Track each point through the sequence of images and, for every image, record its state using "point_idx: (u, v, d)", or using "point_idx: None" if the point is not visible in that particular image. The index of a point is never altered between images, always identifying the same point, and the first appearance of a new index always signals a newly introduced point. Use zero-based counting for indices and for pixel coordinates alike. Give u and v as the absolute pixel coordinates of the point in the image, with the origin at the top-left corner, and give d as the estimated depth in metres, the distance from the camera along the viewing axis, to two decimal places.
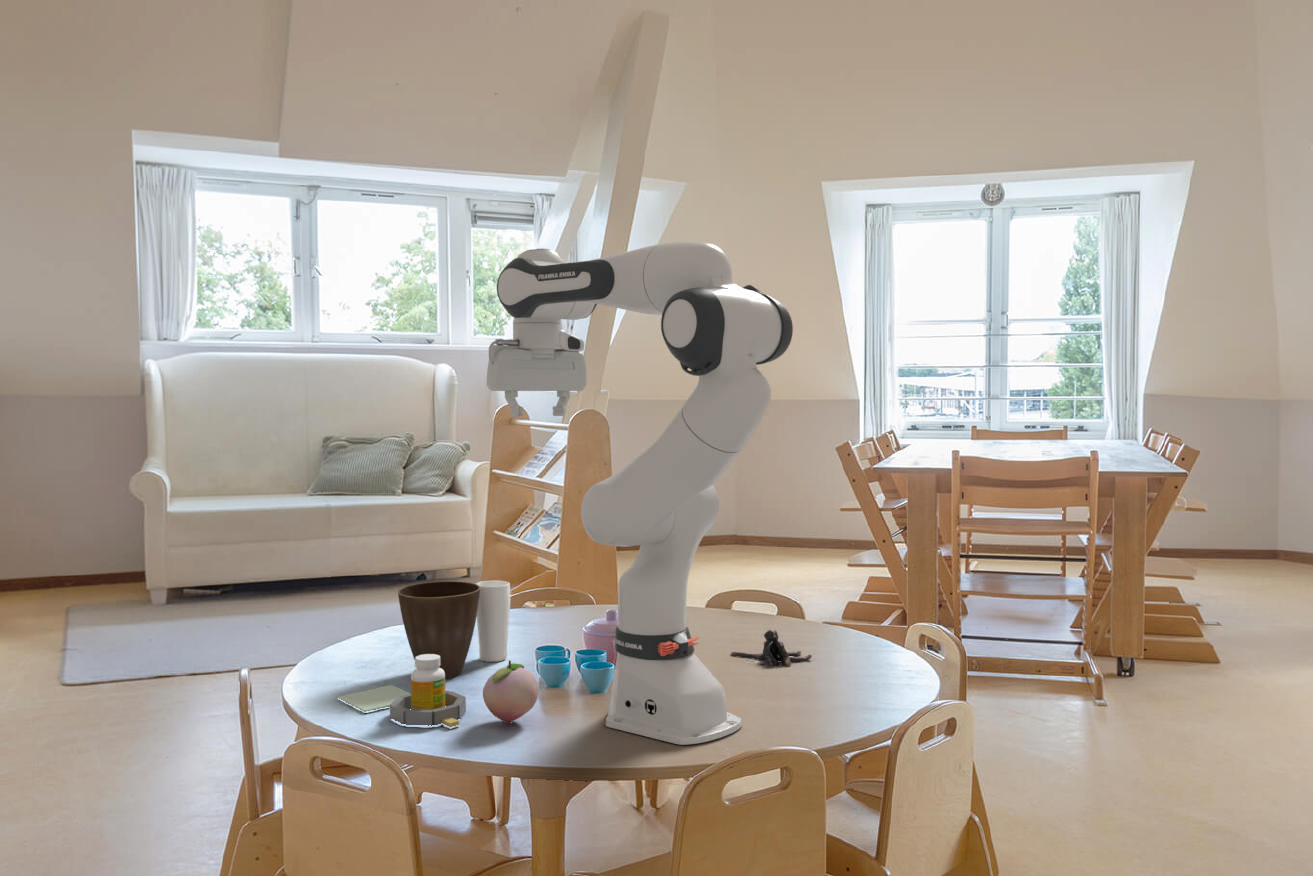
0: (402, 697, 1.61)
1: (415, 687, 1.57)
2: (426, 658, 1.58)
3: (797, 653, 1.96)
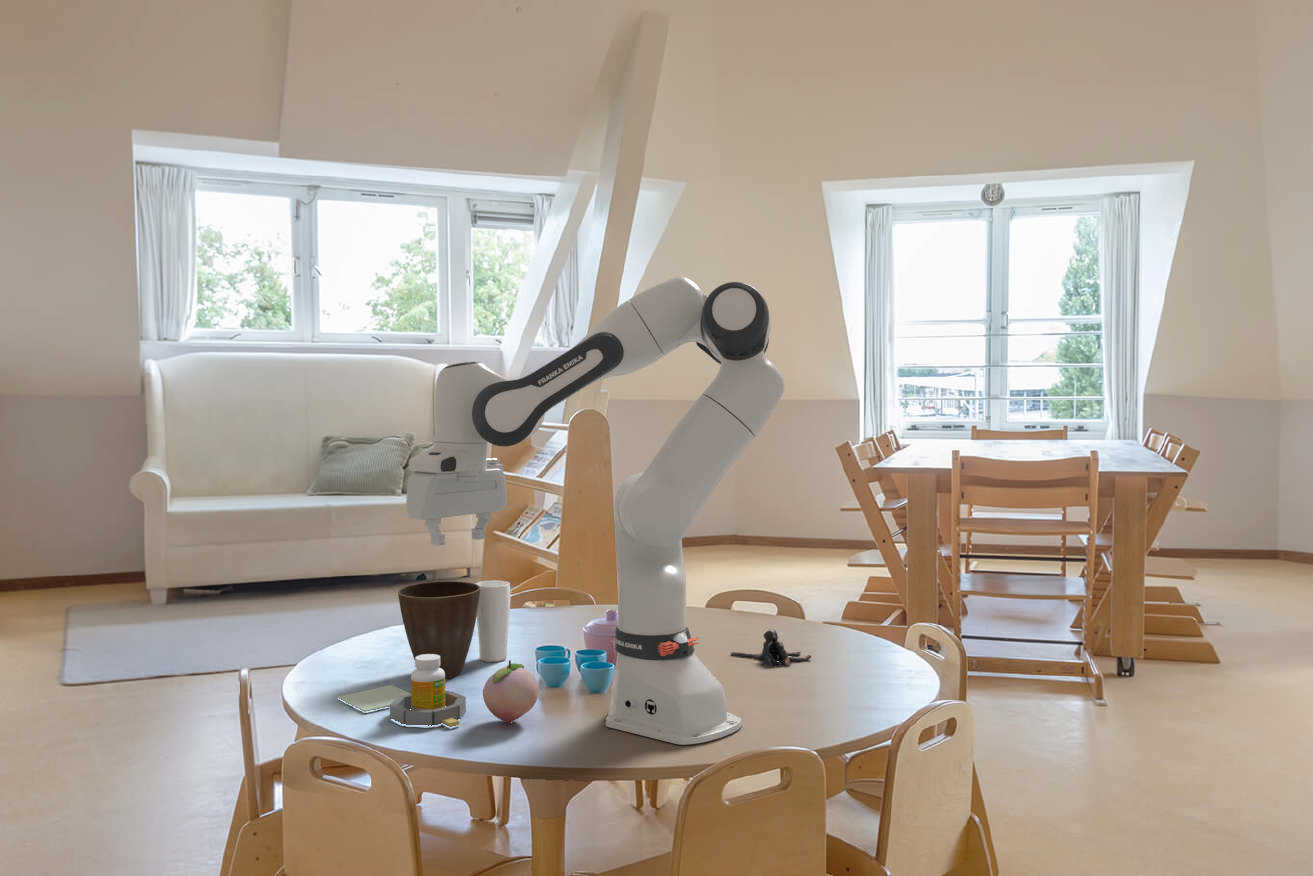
0: (402, 697, 1.61)
1: (415, 687, 1.57)
2: (426, 658, 1.58)
3: (797, 653, 1.96)
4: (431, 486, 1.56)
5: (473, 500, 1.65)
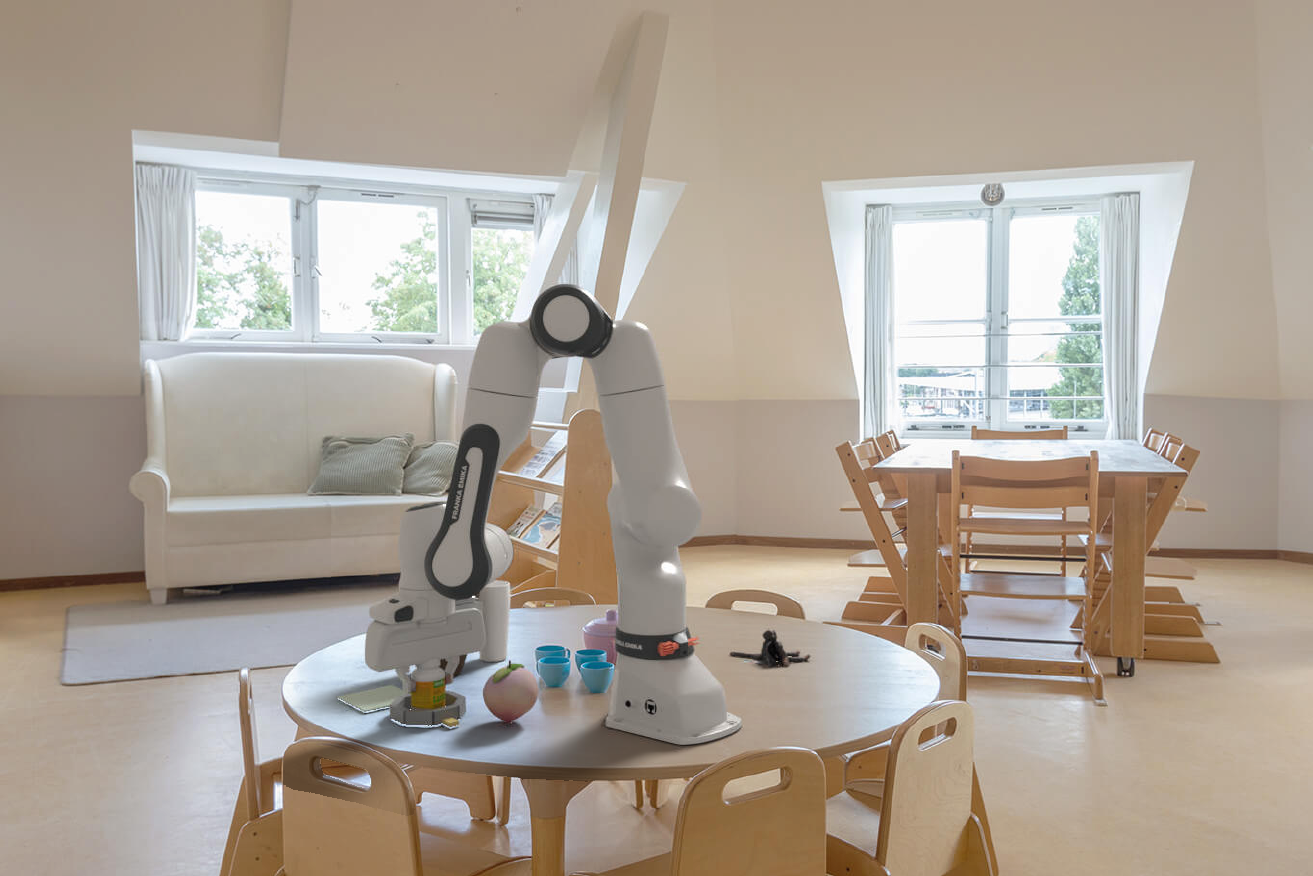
0: (402, 697, 1.61)
1: None
2: None
3: (796, 653, 1.96)
4: (385, 638, 1.51)
5: (442, 645, 1.59)
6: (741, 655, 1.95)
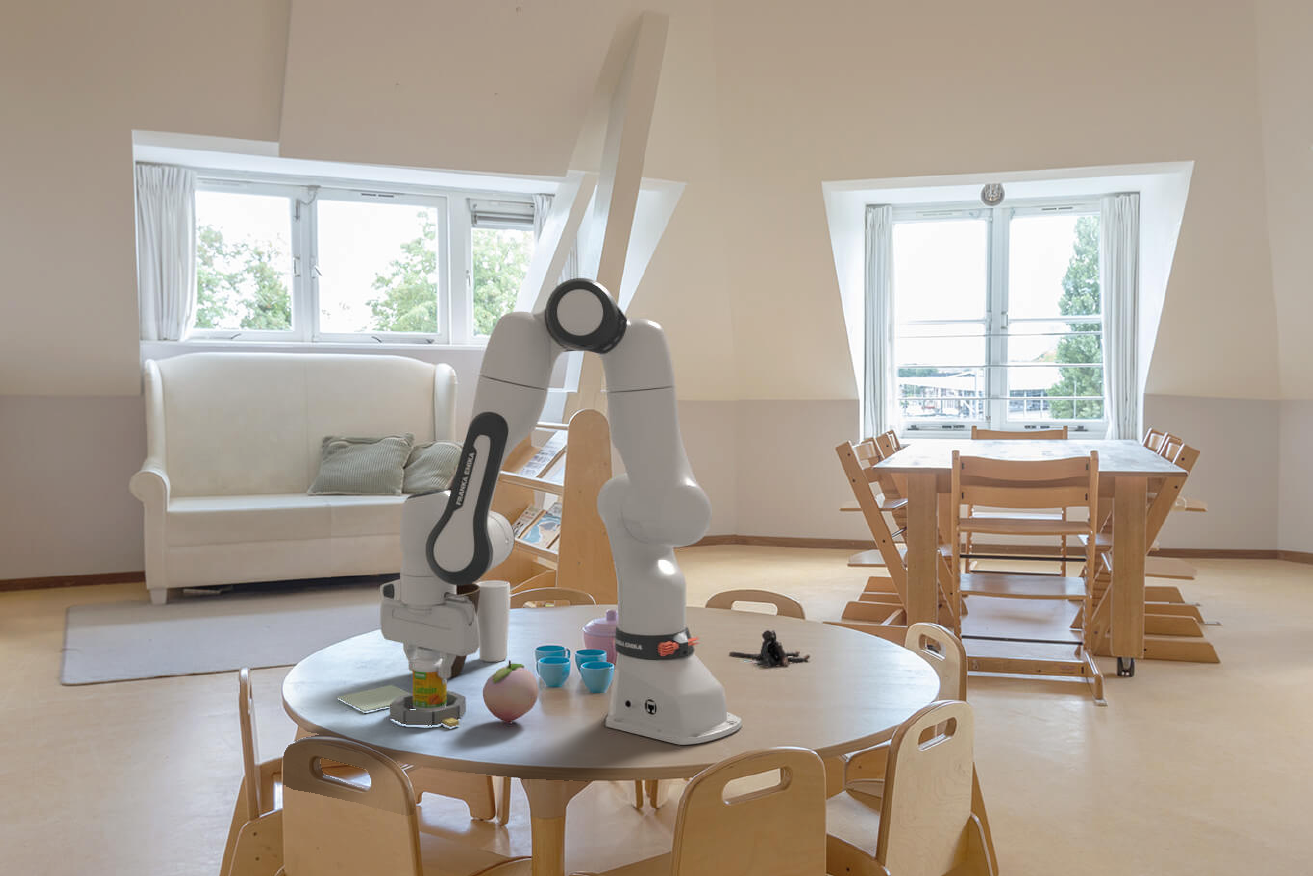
0: (402, 697, 1.61)
1: None
2: None
3: (795, 653, 1.96)
4: (382, 609, 1.63)
5: (426, 635, 1.58)
6: (740, 655, 1.95)
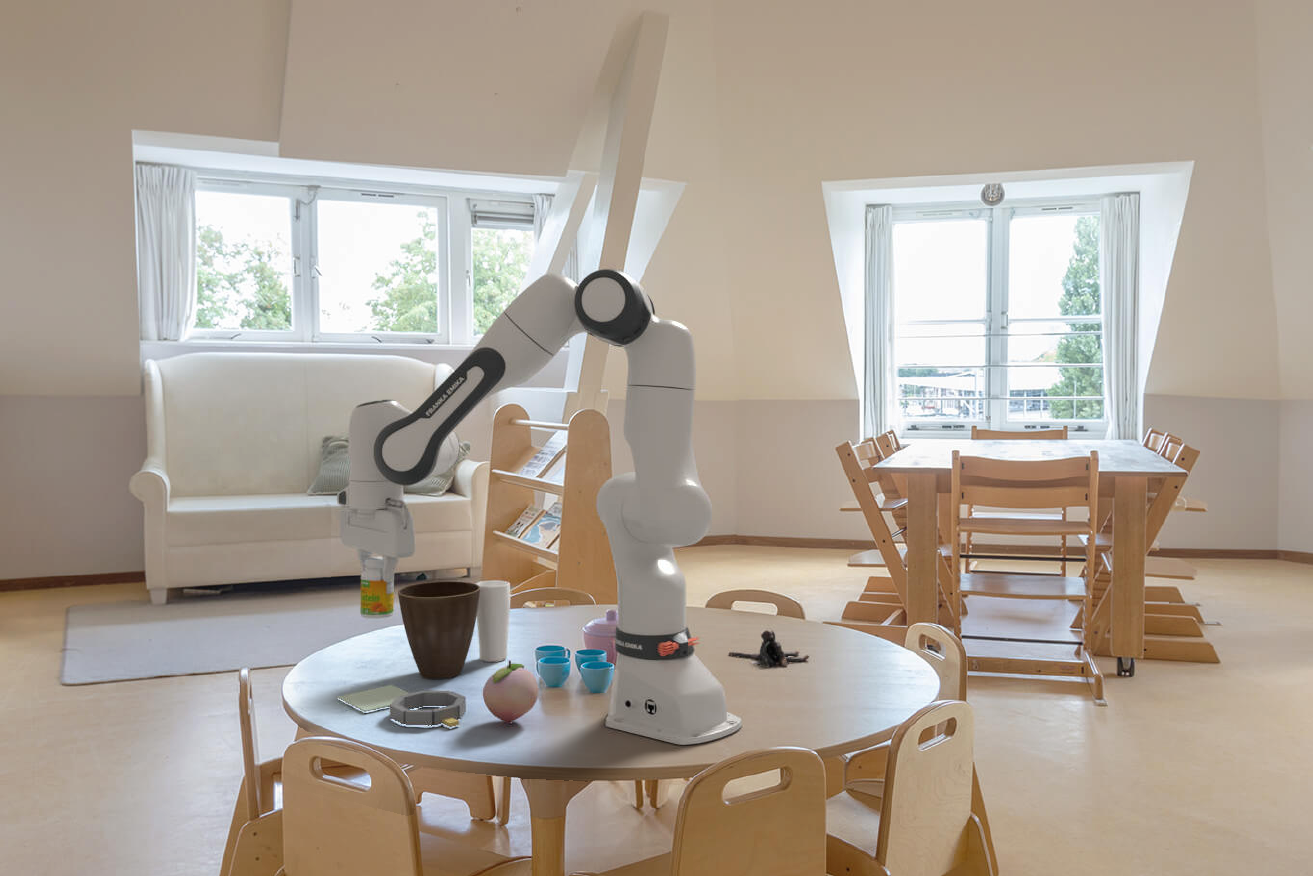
0: (402, 697, 1.61)
1: None
2: (372, 558, 1.67)
3: (795, 653, 1.96)
4: (340, 516, 1.71)
5: (371, 539, 1.64)
6: (740, 655, 1.95)
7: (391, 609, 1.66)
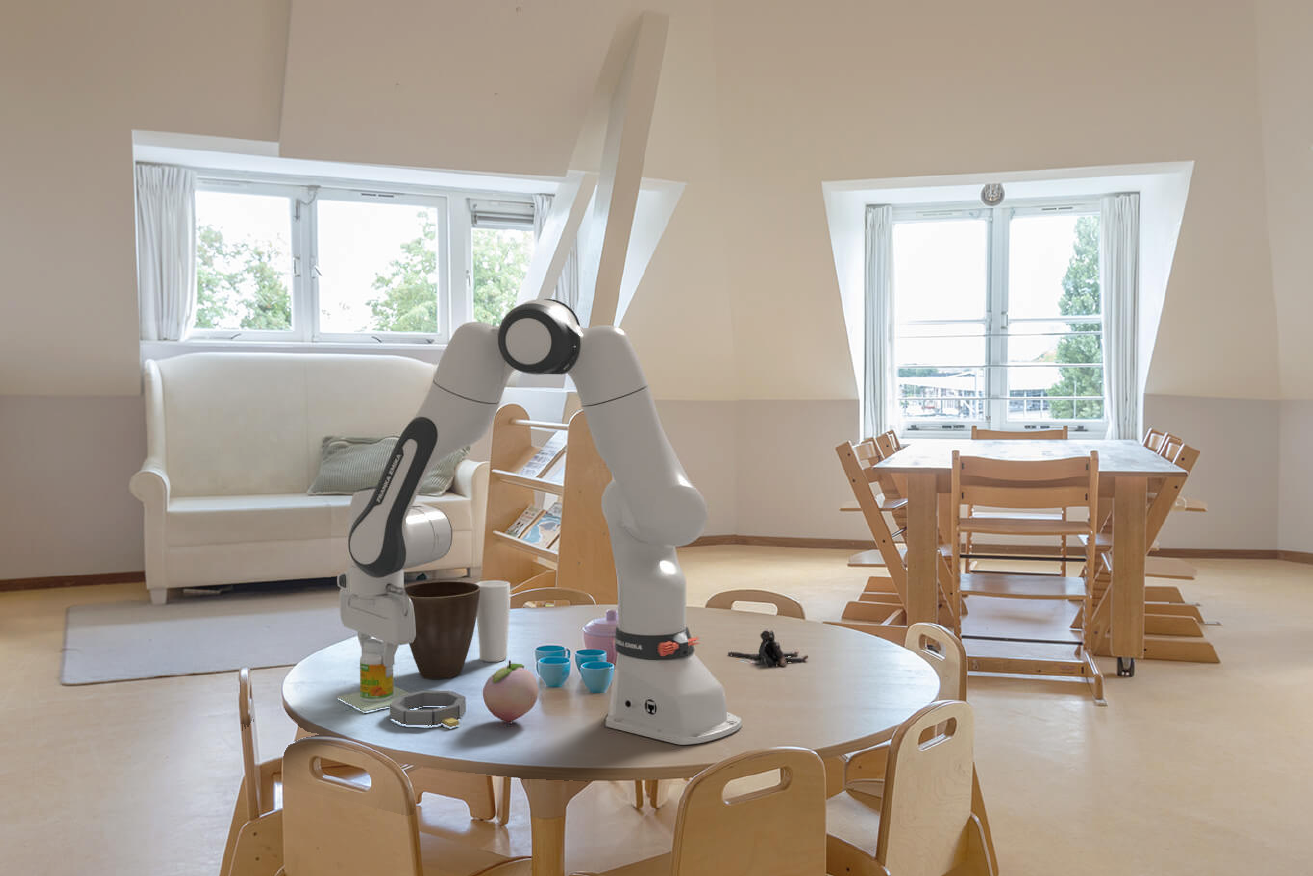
0: (402, 697, 1.61)
1: None
2: (371, 641, 1.67)
3: (794, 653, 1.96)
4: (340, 597, 1.71)
5: (371, 624, 1.65)
6: (739, 655, 1.95)
7: (391, 692, 1.67)
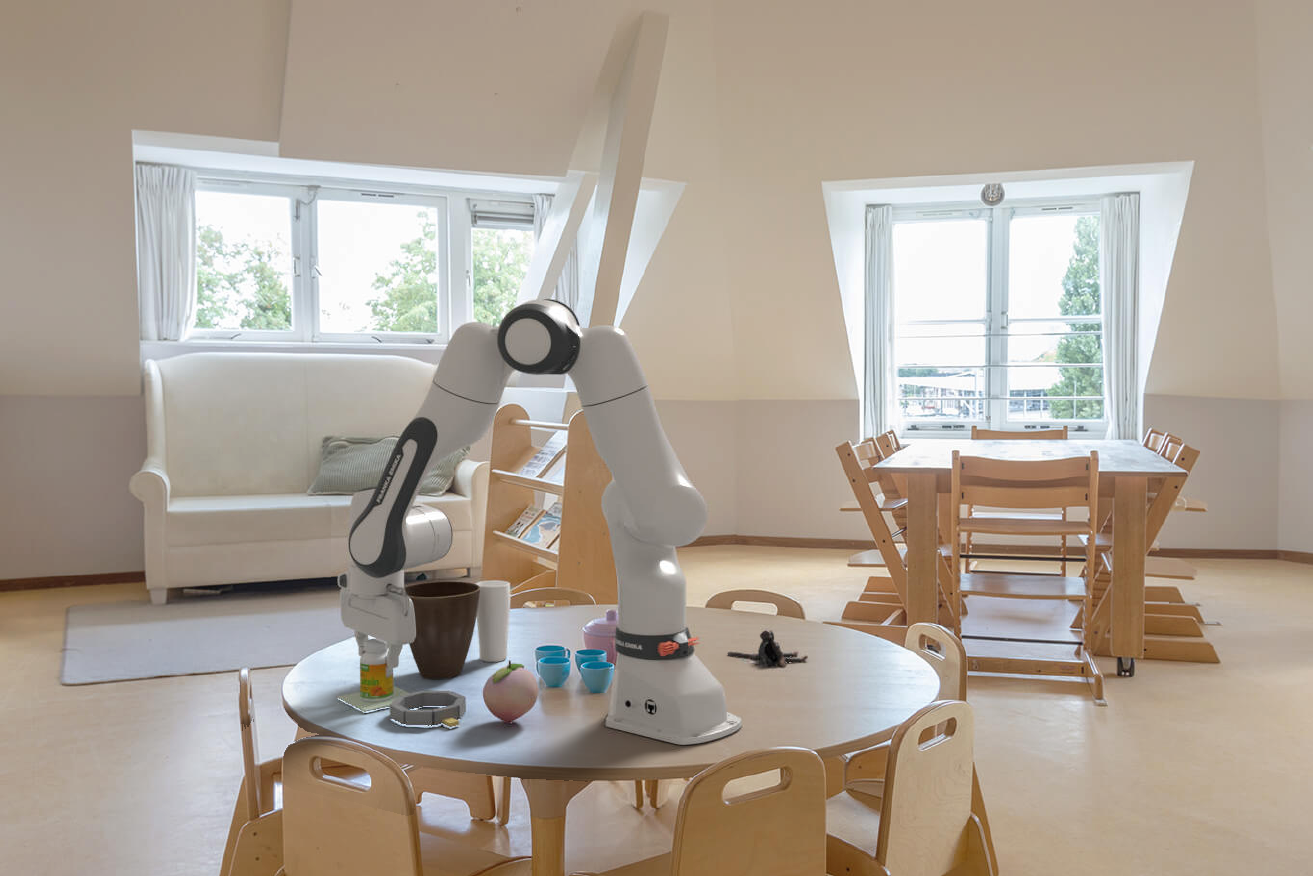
0: (402, 697, 1.61)
1: None
2: (371, 641, 1.67)
3: (794, 654, 1.96)
4: (341, 597, 1.72)
5: (372, 624, 1.65)
6: (738, 655, 1.95)
7: (391, 692, 1.67)
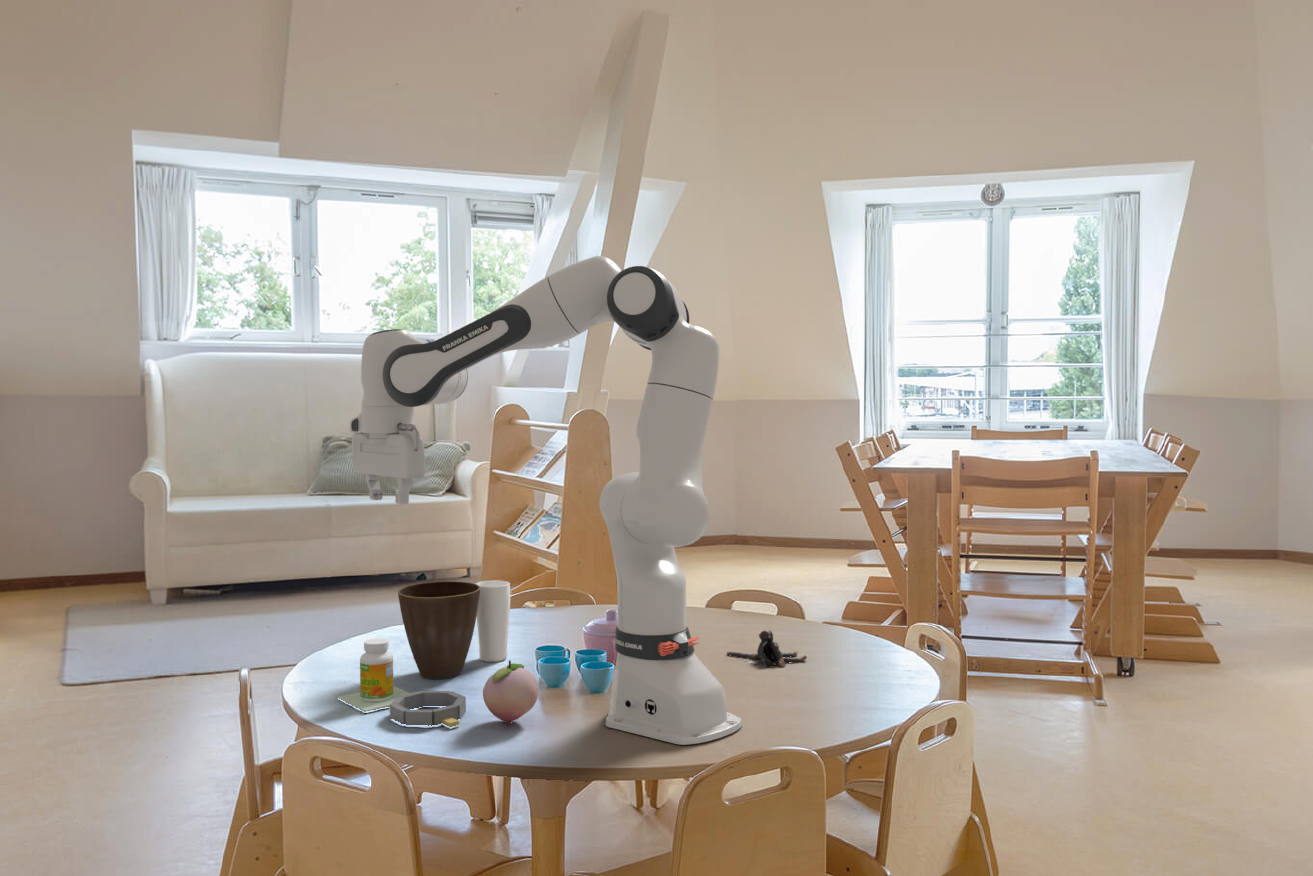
0: (402, 697, 1.61)
1: None
2: (371, 641, 1.67)
3: (793, 654, 1.96)
4: (352, 443, 1.77)
5: (383, 463, 1.71)
6: (738, 655, 1.95)
7: (391, 692, 1.67)
